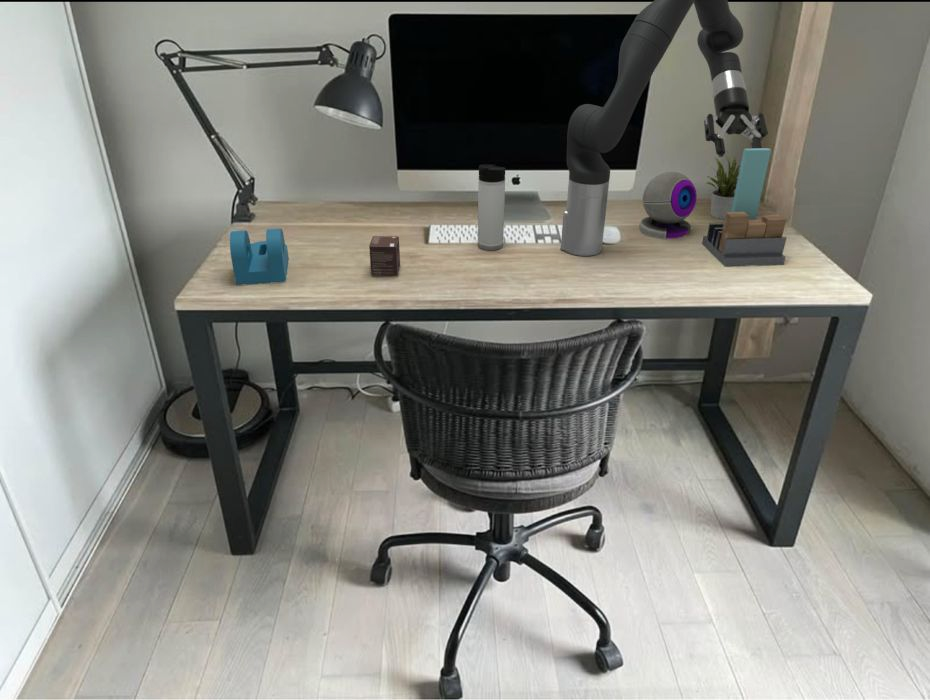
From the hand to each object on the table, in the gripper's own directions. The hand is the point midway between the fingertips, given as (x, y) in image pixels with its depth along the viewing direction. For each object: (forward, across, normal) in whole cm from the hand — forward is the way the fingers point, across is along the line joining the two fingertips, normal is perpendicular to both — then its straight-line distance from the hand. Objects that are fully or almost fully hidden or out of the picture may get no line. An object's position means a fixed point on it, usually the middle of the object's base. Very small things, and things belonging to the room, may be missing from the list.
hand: (739, 154), depth 163 cm
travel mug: (+16, -60, +14) cm, 63 cm away
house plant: (+4, +7, +25) cm, 27 cm away
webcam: (+10, -13, +19) cm, 25 cm away
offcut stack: (+23, 0, +3) cm, 23 cm away
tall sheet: (+19, 0, +8) cm, 20 cm away
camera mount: (+22, -112, +8) cm, 115 cm away
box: (+25, -84, +4) cm, 88 cm away
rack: (+22, 0, +7) cm, 23 cm away
